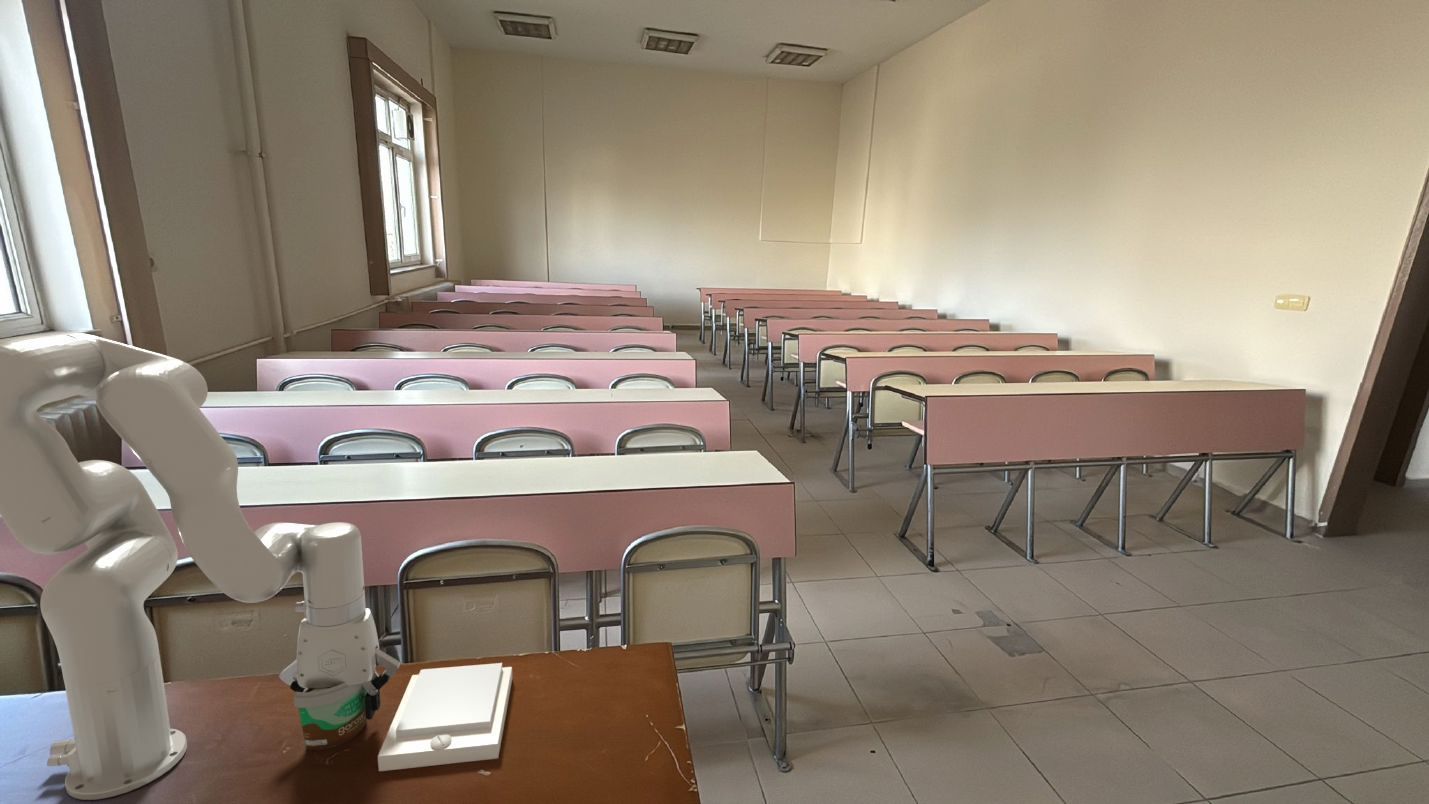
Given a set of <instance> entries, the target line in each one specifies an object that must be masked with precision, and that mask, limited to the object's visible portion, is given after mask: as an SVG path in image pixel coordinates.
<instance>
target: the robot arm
mask: <svg viewBox="0 0 1429 804" xmlns="http://www.w3.org/2000/svg"><path fill="white" fill-rule="evenodd" d="M208 390H209V388H208V384H207V381H206V380H205V377H204V376H203V375H202V373H201V372H199V370H198V369H197V368H196V367H194V366H192V365H191V364H189V363H187V362H186V361H183V360H182V359H178V358H176V357H172V356H169V355H165V354H163V353H159V352H155V351H151V350H147V349H143V348H139V347H136V346H133V345H128V344H125V343H122V342H118V341H115V340H113V339H107V338H105V337H104V338H103V337H100V336H97V335H93V334H88V333H85V332H79V331H78V332H76V331H55V332H54V331H53V332H44V333H37V334H30V335H19V336H14V337H7V338H0V517H1V519H2V520H3V523H5V524H4V525H5V526H6V527H7V529H8V530H9V532H10V533H11V534H12V536H13V537H14V538H15V539H16V541H17V542H18V543H19V544H20V545H21V546H22V547H24V548H25V549H27V550H28V551H30V552H33V553H37V554H41V555H55V554H60V553H63V552H67V551H70V550H72V549H75V548H77V547H79V546H82V545H83V544H85V546H86V547H87V550H85V551H84V552H82V553H80V554H79V555H78V556H76V557H74V558H73V559H72V560H70V561H68V562H67V563H66V564H65V565H63V566H62V567H61V568H60V569H59V570H57V571H56V572H55V573H54V574H53V575H52V576H51V578H49V580H48V582H47V583H46V584H45V585H44V588H43V590H42V593H41V596H40V601H39V603H40V604H39V605H40V612H41V615H42V618H43V620H44V622H45V624H46V626H47V629H48V631H49V632H50V634H51V636H52V639H53V641H54V644H55V647H56V650H57V654H58V657H59V662H60V667H61V672H62V677H63V682H64V688H65V692H66V698H67V706H68V711H69V715H70V716H69V718H70V722H71V728H72V733H73V739H65V740H56V741H54V742H53V743H52V745H50V749H49V755H50V756H49V758H48V759H47V761H46V766H47V767H48V768H49V767H61V766H64V765H66V766H67V767H69V771H68V773H67V774H66V776H65V780H64V787H65V791H66V794H68V795H69V796H70V797H72V798H73V799H78V800H83V801H84V800H87V801H88V800H89V801H91V800H93V801H95V800H101V799H106V798H112V797H113V798H114V797H116V796H119V795H122V794H125V793H129V792H131V791H133V790H136V789H138V788H141V787H143V786H145V785H147V784H149V783H151V782H152V781H154V780H157V779H158V778H160V777H161V776H163V775H164V774H166V773H167V772H169V771H170V770H171V769H173V767H174V766H175V765H176V764H177V763H179V761H180V760H181V759H182V758H183V756H184V755H185V753H186V751H187V748H188V742H187V737H186V735H185V733H183V731H181V730H178V729H175V728H171V725H170V718H169V717H170V716H169V712H168V710H169V709H168V703H167V697H166V690H165V683H164V677H163V669H162V663H161V654H160V649H159V642H158V637H157V634H156V633H157V632H156V630H155V627H154V626H153V623H152V622H151V620H150V619H149V617H148V616H147V614H146V612H145V609H144V608H145V607H144V603H145V601H146V599H147V598H149V596H150V595H151V594H152V593H153V592H155V590H157V589H158V588H159V587H160V586H161V585H162V584H163V583H164V582H165V581H167V579H168V578H169V577H170V576H171V574H172V573H173V572H174V570H175V568H176V567H177V564H178V556H179V554H178V549H177V546H176V542H175V540H174V538H173V536H172V533H171V532H170V530H169V529H168V527H167V525H166V523H165V521H164V520H163V518H162V516H161V514H160V513H159V511H158V508H157V507H156V505H155V503H154V502H153V500H152V498H151V496H150V494H149V492H148V491H147V489H146V487H145V486H144V485H143V483H142V481H141V480H140V479H139V478H138V477H137V476H136V475H135V473H133V472H131V471H130V470H129V469H128V468H126V467H125V466H122V464H121V465H120V464H118V463H115V462H112V461H108V460H104V459H103V460H101V459H91V460H84V461H80V462H78V460H77V458H76V457H75V455H74V454H73V452H72V451H71V449H70V446H69V445H68V443H67V441H66V439H65V438H64V437H63V436H62V435H61V433H60V432H59V431H58V430H57V429H56V428H55V427H54V426H52V425H51V423H49V422H47V421H46V420H45V419H44V418H42V417H41V416H40V415H39V414H38V412H37V411H38V410H39V408H41V407H43V406H44V405H47V404H50V403H54V402H58V401H62V400H65V399H68V398H71V397H75V396H81V397H87V398H90V399H95V405H96V407H97V409H98V411H99V412H100V415H102V417H103V418H104V420H105V421H106V422H107V423H108V424H109V425H110V428H112V429H113V430H114V432H115V433H116V434H117V435H118V436H119V437H120V439H121V440H122V441H123V442H124V443H125V444H126V446H128V449H130V450H131V451H132V452H133V454H134V455H135V456H136V457H137V458H138V460H139V461H141V463H142V464H143V466H144V467H146V469H147V470H148V471H149V473H150V474H151V475H152V476H153V478H155V479H156V481H157V482H158V483H159V484H160V486H161V487H163V489H164V490H165V493H166V494H167V495H168V498H169V503H170V508H171V512H172V516H173V520H174V521H175V524H176V528H177V531H178V534H179V536H180V537H179V538H180V540H181V542H182V544H183V546H184V548H185V550H186V552H187V553H188V554H189V556H190V558H191V559H192V561H194V563H195V564H196V566H197V567H198V568H199V570H201V571H202V572H203V574H204V575H205V576H206V577H207V578H208V579H209V581H211V582H212V584H213V585H214V586H215V587H216V588H218V589H219V591H221V592H222V593H224V594H225V595H226V596H227V597H229V598H231V599H233V600H235V601H238V602H242V603H248V604H251V603H252V604H253V603H261V602H264V601H266V600H268V599H271V598H272V597H275V595H277V594H278V593H280V591H282V589H283V588H284V587H285V586H286V585H287V583H288V582H289V580H290V579H291V577H292V576H293V575H294V574H296V573H301V574H302V583H303V595H304V600H302V601H296V602H295V605H294V611H295V612H297V613H298V612H300V613H303V614H304V618H303V619H302V620H301V621H300V622H299V623H300V624H299V627H298V635H297V645H296V659H295V660H294V661H293V662H291V663H290V664H289V665H287V667H285V668H284V669H283V670H282V671H281V673H280V674H279V675H278V677H279V679H280V680H281V681H282V682H283V683H285V684H286V685H288V686H289V688H290V690H292V691H293V692H305V691H306V690H307V689H314V688H328V687H335V686H337V685H340V684H342V683H344V682H345V684H346V686H353V685H361V684H362V685H363V687H364V688H365V689H366V691H367V694H366V696H365V711H366V721H367V720H370V721H371V720H372V719H373V718H374V715H375V714H376V711H379V709H380V707H381V692H380V689H382V688H383V687H384V686H385V685H386V684H387V683H388V682H389V680H390V679H391V678H392V677H393V676H394V675H395V674H396V672H397V671H398V669H399V668H400V666H401V662H400V661H399V660H397V659H396V658H394V657H393V656H391V655H389V654H388V653H386V652H384V651H383V650H381V649H380V643H379V638H378V632H377V627H376V623H375V620H374V616H373V614H372V611H371V609H370V608H368V607H367V608H366V596H365V595H366V593H365V592H366V591H365V579H364V563H363V550H362V549H363V547H362V535H361V531H360V530H359V528H358V527H357V526H356V525H355V524H353V523H349V522H346V521H345V522H342V521H340V522H339V521H337V522H335V521H334V522H327V523H322V524H307V523H295V522H280V521H279V522H272V523H267V524H264V525H263V526H261V527H258V529H256V530H255V531H254V530H253V529H252V527H251V526H250V525H249V523H248V521H247V520H246V517H245V516H244V514H243V512H242V508H241V506H240V503H239V498H238V492H237V490H238V489H237V487H238V475H239V463H238V458H237V454H236V453H235V451H234V450H233V449H232V448H231V446H230V445H229V444H228V443H227V441H225V439H224V438H223V437H222V435H221V434H220V433H219V431H217V429H216V428H215V427H214V426H213V424H212V423H211V421H210V420H209V419H208V418H207V417H206V415H205V414H204V412H202V410H201V409H200V408H201V407H202V406H204V404H205V402H206V401H207V398H208ZM379 666H381V667H383V668H385V670H384V671H382V672H381V673H380V674H379V673H378V672H377V670H376V668H377V667H379ZM364 670H365V671H364Z"/></svg>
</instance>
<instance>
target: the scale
mask: <svg viewBox="0 0 1429 804" xmlns="http://www.w3.org/2000/svg"><path fill="white" fill-rule="evenodd" d="M512 682H513V667H512V666H505V667H503V662H498V663H497V662H496V663H486V664H473V665H471V664H470V665H462V666H460V665H459V666H450V667H436V668H424V669H420V671H419V673H418V674H411V677H410V680H409V682H408V684H407V687H406V689H405V691H404V694H403V697H402V699H401V700H400V704H399V705H398V708H397V710H396V713H395V715H394V717H393V719H392V722H391V724H390V726H389V730H388V731H387V734H386V737H385V738H384V741H383V743H382V745H381V748H380V749H379V752H378V755H377V764H378V765H377V766H378V772H387V771H395V770H403V769H404V770H405V769H414V768H422V767H430V766H431V767H432V766H440V765H451V764H460V763H467V762H476V761H486V760H497V759H499V755H500V750H501V745H502V744H501V743H502V738H503V733H504V727H505V723H506V716H507V710H508V705H509V700H510V694H511V689H512V688H511V687H512V684H513V683H512Z"/></svg>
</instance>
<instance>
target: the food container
mask: <svg viewBox="0 0 1429 804" xmlns="http://www.w3.org/2000/svg"><path fill="white" fill-rule="evenodd" d="M364 671H365V670H364ZM294 692H295V691H294ZM366 694H367V691H366V689H365V688H364V687H363V685H362V684H361V685H353V686H346V684H345V682H344V683H342V684H340V685H337V686H335V687H328V688H314V689H307V690H306V691H305V692H295V696H294V697H293V698H294V699H293V708H297V709H298V713H299V720H300V725H301V727H302V728H301V730H302V734H303V738H304V744H305V748H306V750H310V751H311V750H312V751H316V750H318V751H319V750H325V749H330V748H333V747H336V746H337V747H339V746H340V745H341V744H345V743H346V742H349V741H350V740H352V739H353V738H354V737H356V736H357V735H359V734H360V733H361V731H362V730H363V729H364V728H365V725H366V723H367V719H366V711H365V696H366Z"/></svg>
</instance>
